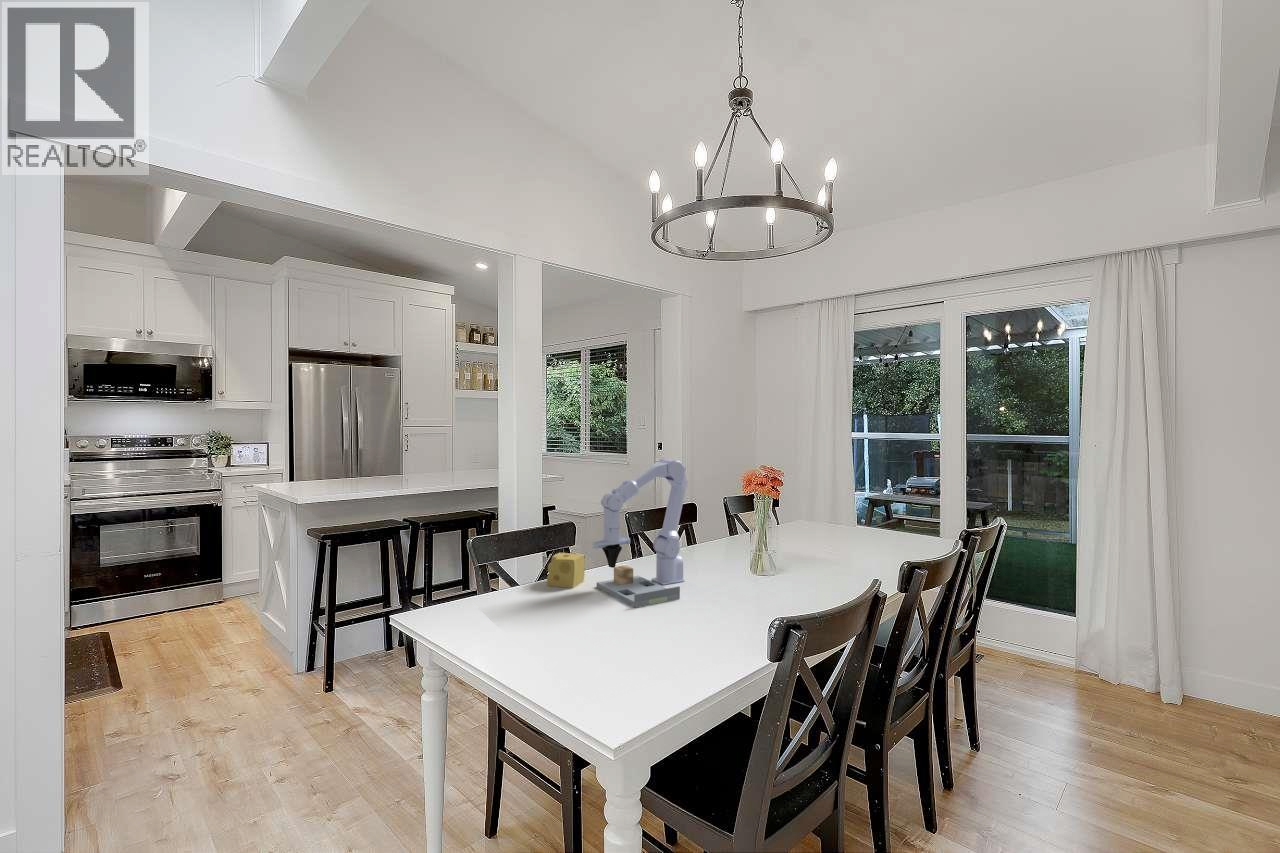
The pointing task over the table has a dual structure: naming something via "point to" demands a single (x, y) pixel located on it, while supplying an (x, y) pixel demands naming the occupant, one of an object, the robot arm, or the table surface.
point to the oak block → (623, 575)
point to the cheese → (566, 570)
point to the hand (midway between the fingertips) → (611, 566)
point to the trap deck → (640, 591)
